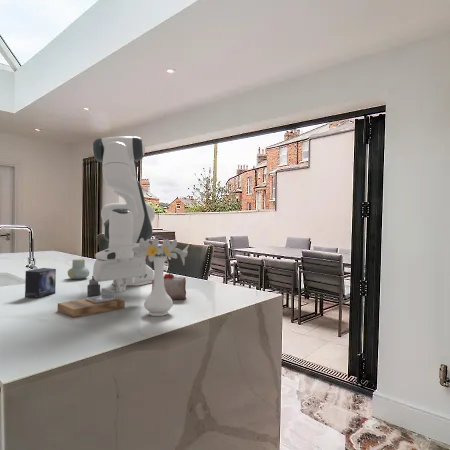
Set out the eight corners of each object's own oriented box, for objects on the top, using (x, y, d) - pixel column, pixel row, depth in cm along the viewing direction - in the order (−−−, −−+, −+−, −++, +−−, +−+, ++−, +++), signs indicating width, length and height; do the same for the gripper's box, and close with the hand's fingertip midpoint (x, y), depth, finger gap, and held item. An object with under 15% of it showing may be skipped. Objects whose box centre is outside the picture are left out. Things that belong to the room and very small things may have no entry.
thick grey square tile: (104, 297, 131) (104, 288, 131) (114, 300, 126) (114, 290, 126) (85, 300, 126) (85, 290, 126) (95, 303, 121) (95, 293, 121)
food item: (150, 300, 139) (150, 275, 139) (152, 296, 147) (152, 272, 147) (185, 300, 140) (186, 275, 140) (186, 296, 148) (186, 272, 148)
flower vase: (192, 316, 116) (193, 238, 116) (133, 321, 110) (134, 238, 110) (183, 307, 129) (184, 236, 128) (130, 310, 123) (130, 236, 122)
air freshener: (65, 278, 189) (66, 259, 189) (81, 276, 195) (81, 258, 195) (75, 280, 182) (75, 260, 182) (91, 279, 188) (91, 259, 188)
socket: (106, 302, 135) (106, 295, 135) (124, 307, 127) (124, 300, 127) (57, 310, 121) (57, 303, 121) (74, 317, 113) (74, 309, 113)
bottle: (96, 299, 141) (96, 274, 140) (102, 300, 137) (102, 275, 137) (85, 300, 137) (85, 275, 137) (91, 302, 134) (91, 277, 134)
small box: (38, 298, 140) (38, 271, 140) (24, 297, 142) (24, 270, 141) (56, 293, 151) (56, 268, 151) (42, 292, 152) (42, 267, 152)
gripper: (140, 251, 142) (140, 286, 142) (91, 254, 127) (90, 293, 127) (150, 252, 138) (149, 288, 138) (100, 255, 123) (99, 296, 123)
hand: (121, 291), depth 132 cm, fingers closed
